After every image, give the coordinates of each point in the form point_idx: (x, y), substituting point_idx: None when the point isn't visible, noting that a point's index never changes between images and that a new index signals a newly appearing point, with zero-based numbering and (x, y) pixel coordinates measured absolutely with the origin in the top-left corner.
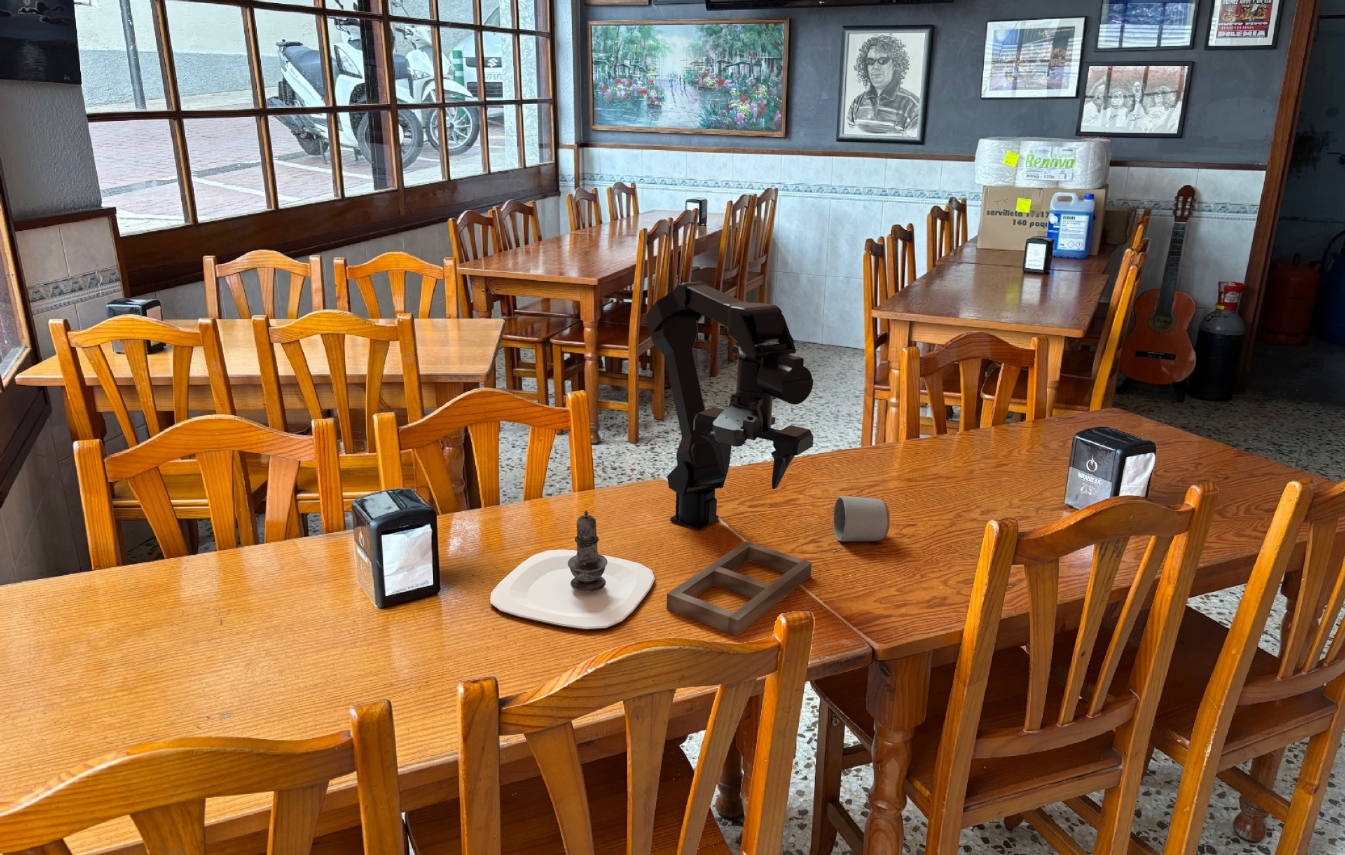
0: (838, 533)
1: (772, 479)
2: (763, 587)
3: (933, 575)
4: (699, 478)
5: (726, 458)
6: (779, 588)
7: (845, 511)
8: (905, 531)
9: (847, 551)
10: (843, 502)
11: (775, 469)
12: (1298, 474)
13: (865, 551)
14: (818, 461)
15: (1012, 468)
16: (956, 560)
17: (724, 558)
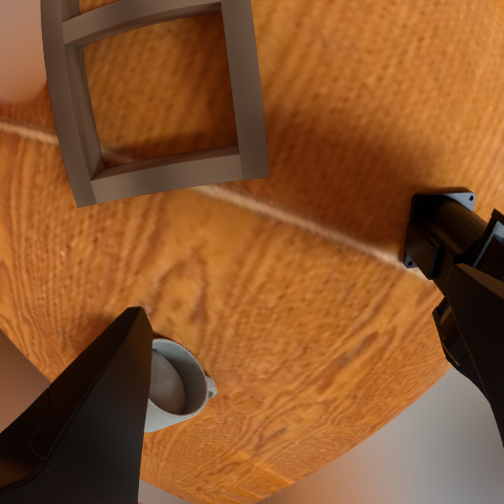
0: (184, 355)
1: (114, 343)
2: (67, 20)
3: (24, 328)
4: (501, 253)
5: (494, 343)
6: (45, 53)
7: None
8: None
9: None
10: (191, 410)
11: (59, 403)
12: None
13: None
14: (345, 444)
15: (188, 488)
16: (48, 371)
17: (243, 46)
